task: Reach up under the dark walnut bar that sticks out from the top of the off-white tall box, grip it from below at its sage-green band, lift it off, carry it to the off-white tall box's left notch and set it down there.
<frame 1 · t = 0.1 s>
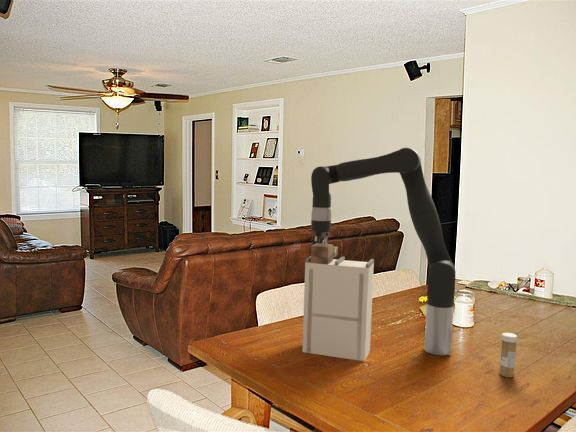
hand: (319, 261, 196), 29 cm above the table, tool pointing down, fingers open, 8 cm apart
walnut bar: (323, 261, 181), point 32 cm above the table, touching off-white tall box
sprinkles bottle: (506, 375, 165), on the table
off-white tall box: (336, 351, 182), on the table
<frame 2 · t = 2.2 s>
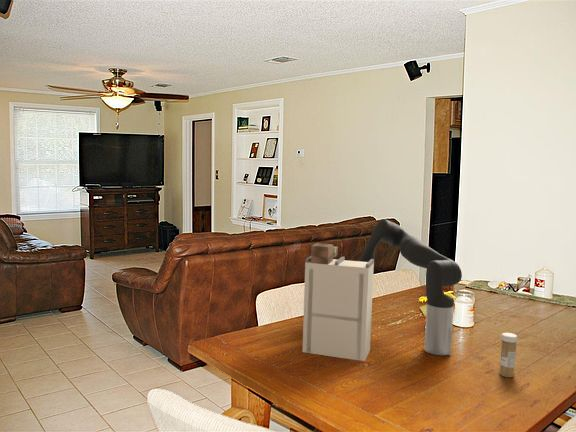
hand: (336, 263, 202), 28 cm above the table, tool pointing upward, fingers open, 8 cm apart
nothing on the table moved.
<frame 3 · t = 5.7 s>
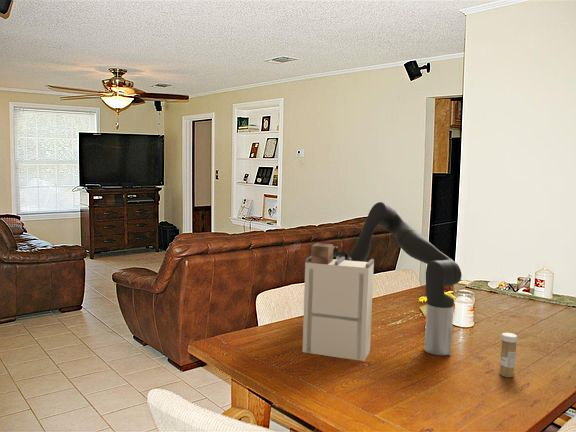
hand: (329, 249, 189), 35 cm above the table, tool pointing upward, fingers closed on walnut bar, 3 cm apart
walnut bar: (323, 261, 181), point 32 cm above the table, touching gripper, off-white tall box
everything else where it was.
when the fingers open (36 cm above the table, at t = 10.5 s): walnut bar stays where it is, resting on off-white tall box.
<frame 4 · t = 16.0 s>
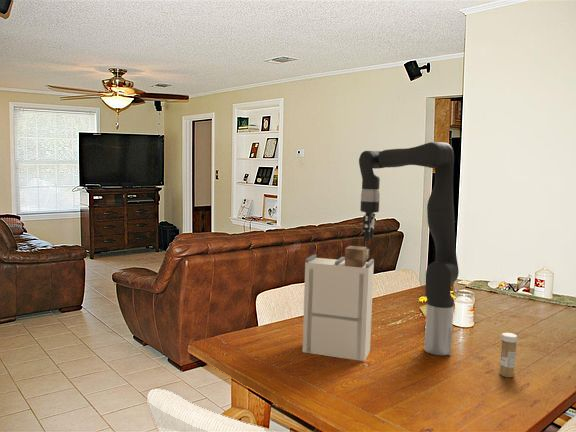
hand: (368, 239, 210), 36 cm above the table, tool pointing down, fingers open, 8 cm apart
walnut bar: (356, 264, 177), point 32 cm above the table, touching off-white tall box
everything else where it was.
at the end: walnut bar inside the target area (0.3 cm from its centre), point 32.0 cm above the table; walnut bar tilted 0°; the gripper is holding nothing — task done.
